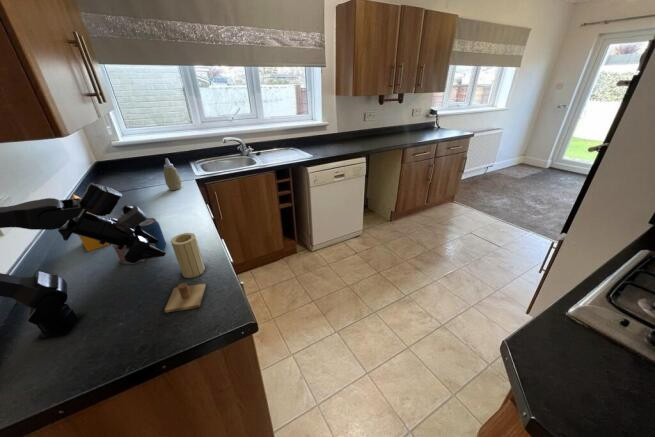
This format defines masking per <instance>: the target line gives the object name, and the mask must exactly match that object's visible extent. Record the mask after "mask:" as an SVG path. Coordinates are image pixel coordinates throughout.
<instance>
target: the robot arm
mask: <svg viewBox="0 0 655 437" xmlns="http://www.w3.org/2000/svg"><path fill="white" fill-rule="evenodd" d="M122 197H123V194H122V193H121V192H120V191H118V190H116V189H113V188H111V187H109V186H106V185H105V186H104V185H102V184H97V183H96V184H95V183H93V182H90V183H88V185H87V186H86V190H85V191H84V193H83V194H82V196H81V197H79V198H76V199H72V198H68V199H57V198H55V197H54V198H52V197H48V198H41V199H35V200H29V201H25V202H21V203H18V204H14V205H9V206H0V229H6V228H7V229H8V228H16V229H17V228H18V229H23V230H24V229H25V230H31V231H33V230H34V231H35V230H37V231H41V230H42V231H46V230H47V231H51V230H53V231H54V230H57V231H58V233H59V234H60V235H61V237H62V239H63V241H68V240H69V239H70V237H71V236H72V234H74V235H77V236H79V235H81V236H84V237H88V238H91V239H95V240H98V241H99V244H103V245H104V244H105V242H106V243H109V245H112V244H113V245H116V246H117V249H121V250H122V248H123V247H124V245H125V246H126V247H125V248H124V250H123V251H122V252H123V255H124V258H125V260H126V262H130V263H134V264H137V263H136V262H138V261H139V260H143V259H145V260H147V259H153V258H154V259H155V258H160V257H165V256H166V254H167V253H166V251H164V250H163V251H162V250H160V249H158V248H155V247H153V246H151V245H149V243H157V242H158V239H156V238H154V237H153V236H151V235H149V234H148V233H146V232H145V231H143V230H142V229H141V227H140V225H139V224H140V223H141V222H144V221H145V220H146V219H147V218H148V216H147V215H146V213H145V212H144V211H143V210H141V208H140V207H138V206H136V205H133V206H132V205H128V204H125V205H124V206H123V207H121V211H122V214H120V216H119V217H118V218H115V217H109V218H105V217H106V216H108V215H111V214H112V212H113V210H114V209H115V208H116V206H117V205H118V203H119V201H120V200H121V199H122ZM80 198H81V199H80ZM87 212H89V213H87ZM90 213H92V214H90ZM93 214H94V215H93ZM96 215H97V216H96ZM0 298H8V299H12V300H14V301H16V302H18V303H19V304H21V305H23V306H25V307H27V308H29V310H28V316H27V322H29V323H31V324H32V325H35V326H36V327H37V328H38V329H39V331H40V332H41V333H39V335H38V336H37V339H38V340H43V339H51V338H56V337H62V336H67V335H68V334H69V333H70V332H71V331H72V329H73V328H74V327H75V326H76V324H77V323H78V321H80V319H81V317H82V314H76V312H75V311H74V309H73V308H71V307H70V306H69V304H68V303H67V300H68V284H67V282H66V280H65V279H64V278H62V277H60V274H52V273H51V274H50V273H47V272H44V271H40V270H39V271H37V272H36V274H35V275H33V276H17V275H12V274H6V273H2V272H0Z"/></svg>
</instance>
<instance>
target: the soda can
mask: <svg viewBox="0 0 655 437" xmlns="http://www.w3.org/2000/svg"><path fill="white" fill-rule="evenodd" d="M139 225H140V227H141V229H142V230H143V231H145V232H146V233H148V234H149V235H151V236H153V237H154V238H156V239H158V242H157V243H149V245H151V246H153V247H155V248H158V249H160V250H162V251H164V250H165V249H166V247H167V242H166V239H165V236H164V234H163V231H162V228H161V225H160V222H159V221H157V220H156V218H154V217H147V219H146V220H145V221H144V222H141V223H140V224H139Z"/></svg>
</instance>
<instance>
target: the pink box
mask: <svg viewBox="0 0 655 437" xmlns="http://www.w3.org/2000/svg"><path fill="white" fill-rule="evenodd" d="M111 246H112V247H113V248H114V250H115V252H116V255H117V257H118V259H119V262H120V264H121V265H122V264H124V265H126V264H127V265H132V264H141V263H143V262H144V261H145V260H146V259H143V260H139V261H138V262H136V263H130V262H126V260H125V258H124V255H123V252H122V251H123V250H124V248H125V247H126V246H125V245H124V247H123V248H122V250H121V249H117V246H116V245H113V244H111Z"/></svg>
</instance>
